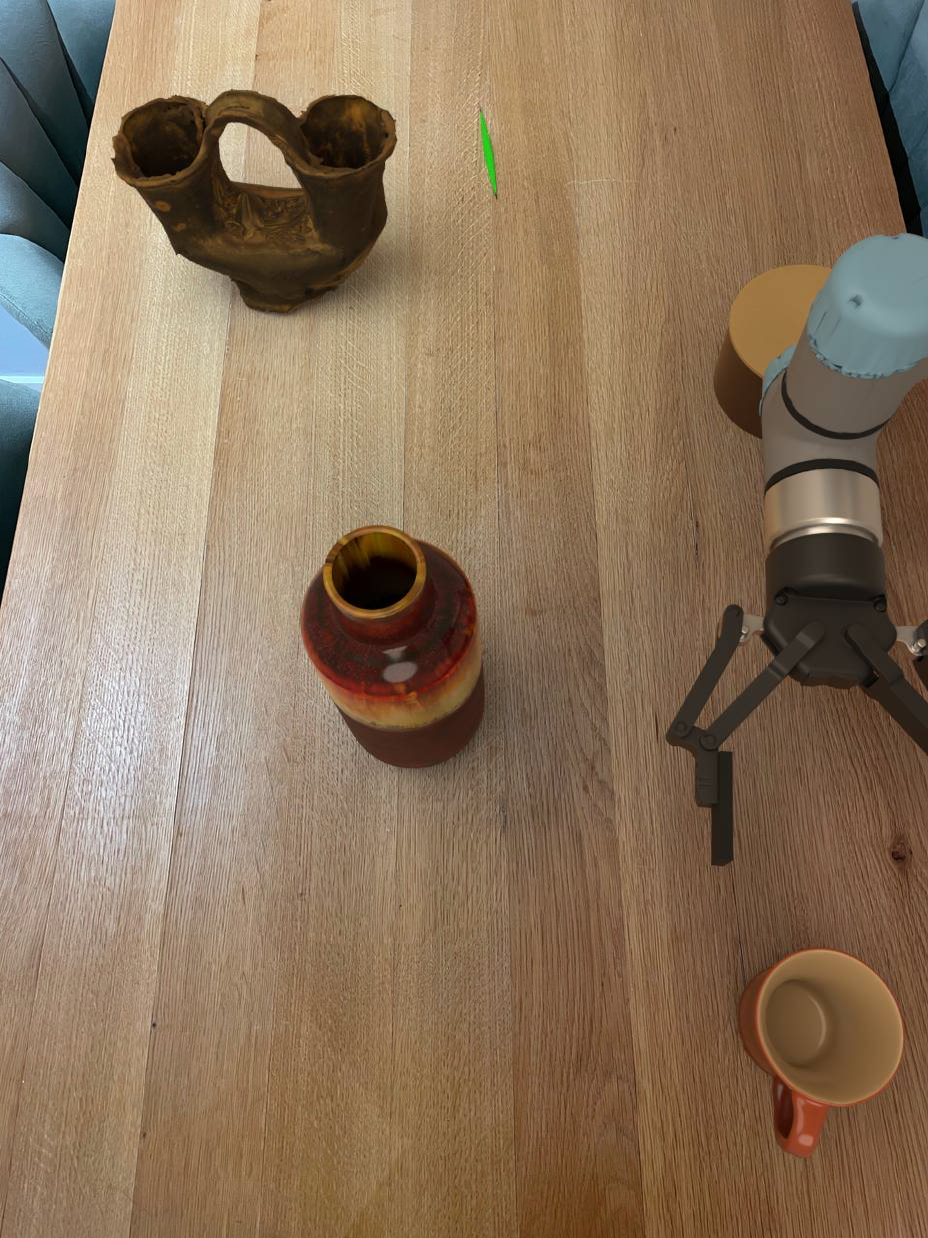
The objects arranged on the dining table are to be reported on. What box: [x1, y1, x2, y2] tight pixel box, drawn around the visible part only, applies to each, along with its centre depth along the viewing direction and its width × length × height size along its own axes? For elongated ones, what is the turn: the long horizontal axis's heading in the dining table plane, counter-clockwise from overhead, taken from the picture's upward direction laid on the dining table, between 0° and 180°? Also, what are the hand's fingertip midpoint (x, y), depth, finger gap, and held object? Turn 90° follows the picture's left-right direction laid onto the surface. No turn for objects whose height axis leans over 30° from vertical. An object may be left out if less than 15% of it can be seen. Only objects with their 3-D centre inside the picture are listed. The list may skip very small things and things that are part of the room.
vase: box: [299, 524, 486, 770], centre depth 64 cm, size 11×11×26 cm
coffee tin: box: [713, 263, 833, 440], centre depth 83 cm, size 13×13×8 cm
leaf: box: [479, 107, 498, 200], centre depth 100 cm, size 1×14×1 cm, turn 7°
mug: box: [736, 946, 906, 1159], centre depth 61 cm, size 12×9×10 cm
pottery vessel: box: [110, 88, 398, 315], centre depth 85 cm, size 25×11×20 cm, turn 87°
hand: (838, 874), depth 56 cm, fingers open, 13 cm apart
